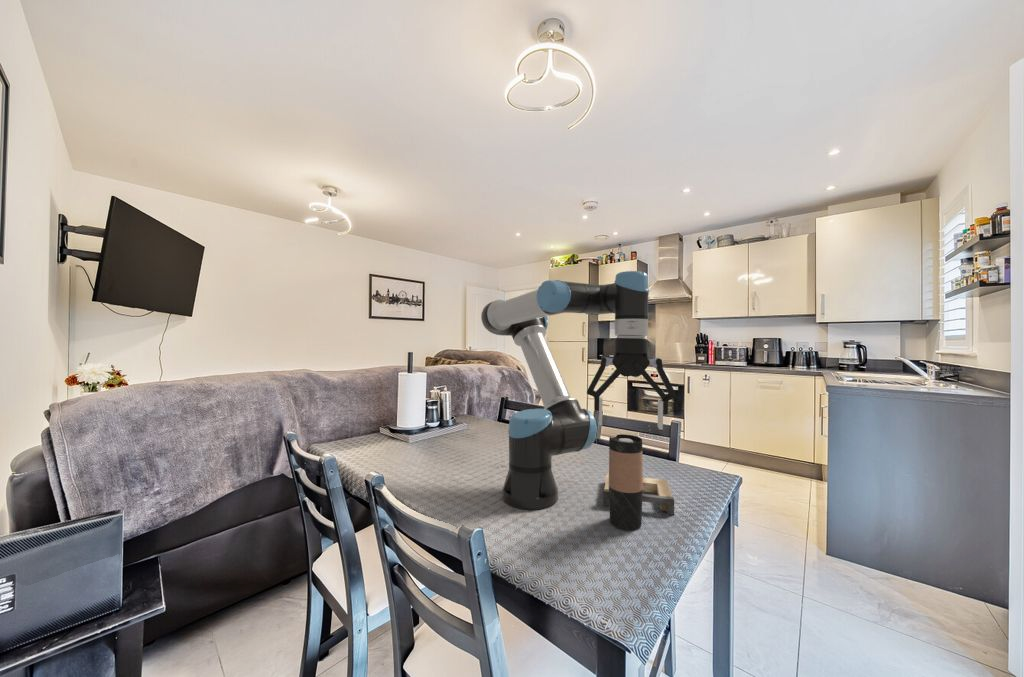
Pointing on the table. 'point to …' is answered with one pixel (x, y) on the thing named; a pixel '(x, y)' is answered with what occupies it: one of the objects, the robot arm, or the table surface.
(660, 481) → the wooden arch frame
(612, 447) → the travel mug
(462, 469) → the table surface
